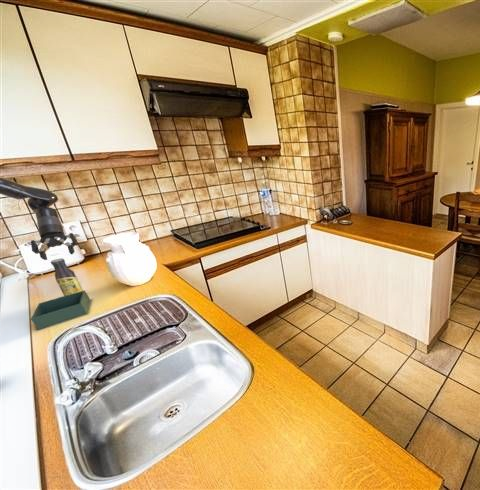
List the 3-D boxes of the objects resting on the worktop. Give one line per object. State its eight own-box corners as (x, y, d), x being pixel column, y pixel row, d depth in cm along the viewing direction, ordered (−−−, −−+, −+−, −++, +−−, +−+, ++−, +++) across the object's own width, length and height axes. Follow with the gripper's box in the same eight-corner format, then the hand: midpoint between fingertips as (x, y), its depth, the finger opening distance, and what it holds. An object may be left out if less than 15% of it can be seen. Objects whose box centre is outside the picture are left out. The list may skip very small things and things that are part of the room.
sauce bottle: (64, 302, 122) (41, 265, 114) (70, 296, 127) (48, 259, 119) (83, 298, 125) (61, 261, 117) (88, 292, 130) (68, 256, 122)
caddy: (38, 329, 105) (30, 319, 103) (45, 313, 115) (38, 303, 113) (87, 313, 113) (81, 303, 111) (90, 300, 123) (84, 290, 121)
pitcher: (165, 279, 138) (147, 235, 128) (120, 295, 126) (95, 247, 116) (157, 268, 150) (140, 227, 140) (115, 282, 138) (93, 238, 128)
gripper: (23, 227, 120) (31, 258, 116) (68, 220, 128) (76, 248, 125) (33, 235, 126) (40, 264, 122) (74, 227, 134) (83, 254, 130)
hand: (58, 256), depth 123 cm, fingers open, 8 cm apart
